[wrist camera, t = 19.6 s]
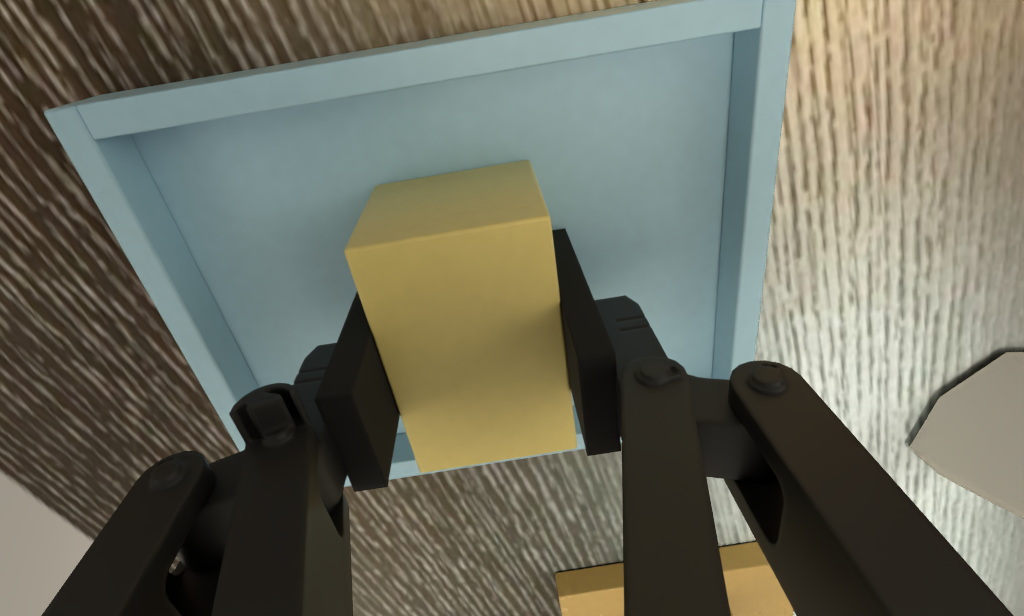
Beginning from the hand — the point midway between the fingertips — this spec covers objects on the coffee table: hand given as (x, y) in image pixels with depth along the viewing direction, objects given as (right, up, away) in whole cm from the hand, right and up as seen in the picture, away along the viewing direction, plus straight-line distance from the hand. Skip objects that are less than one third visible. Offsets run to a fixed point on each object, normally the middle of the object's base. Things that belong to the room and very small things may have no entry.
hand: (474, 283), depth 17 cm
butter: (0, 0, 0) cm, 0 cm away
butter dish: (0, +1, +1) cm, 1 cm away
